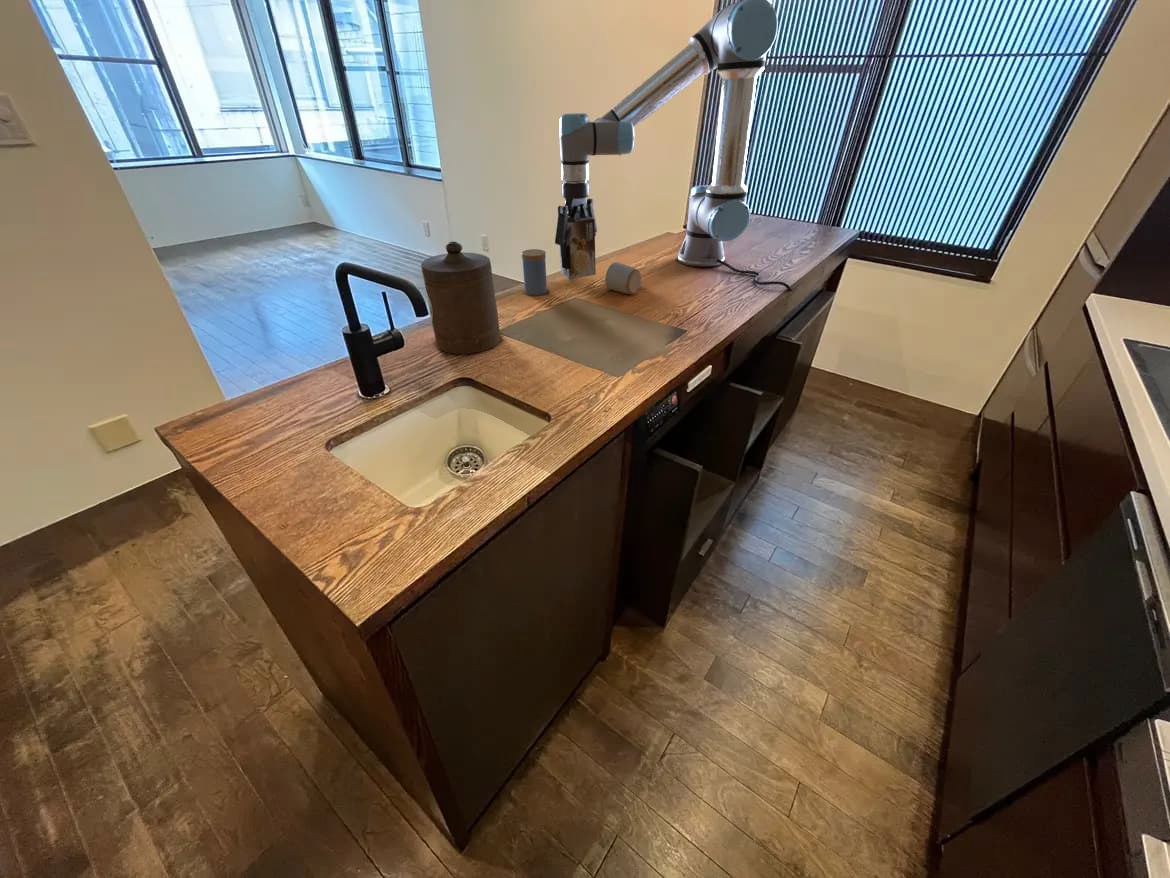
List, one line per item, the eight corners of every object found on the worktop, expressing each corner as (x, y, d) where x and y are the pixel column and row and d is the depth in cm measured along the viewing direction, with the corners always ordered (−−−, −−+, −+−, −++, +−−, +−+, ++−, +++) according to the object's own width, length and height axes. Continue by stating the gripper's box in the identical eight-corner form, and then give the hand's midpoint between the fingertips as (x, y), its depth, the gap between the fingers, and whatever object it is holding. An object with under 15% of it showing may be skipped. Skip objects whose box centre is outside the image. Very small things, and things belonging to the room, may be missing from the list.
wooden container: (458, 324, 121) (442, 231, 108) (511, 332, 117) (501, 236, 104) (423, 349, 109) (400, 248, 96) (480, 358, 105) (465, 255, 92)
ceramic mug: (627, 298, 135) (629, 270, 130) (604, 292, 139) (605, 264, 135) (647, 288, 142) (650, 262, 137) (624, 283, 146) (626, 256, 141)
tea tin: (552, 290, 141) (550, 251, 134) (537, 297, 136) (534, 257, 130) (534, 286, 144) (531, 247, 137) (519, 292, 139) (516, 253, 133)
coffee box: (586, 269, 151) (585, 214, 142) (596, 275, 147) (595, 218, 137) (560, 274, 148) (557, 218, 138) (569, 280, 143) (566, 222, 134)
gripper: (588, 174, 141) (589, 252, 155) (538, 186, 126) (543, 271, 140) (609, 176, 138) (608, 255, 151) (560, 188, 123) (564, 275, 136)
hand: (577, 263), depth 145 cm, fingers closed on coffee box, 10 cm apart
